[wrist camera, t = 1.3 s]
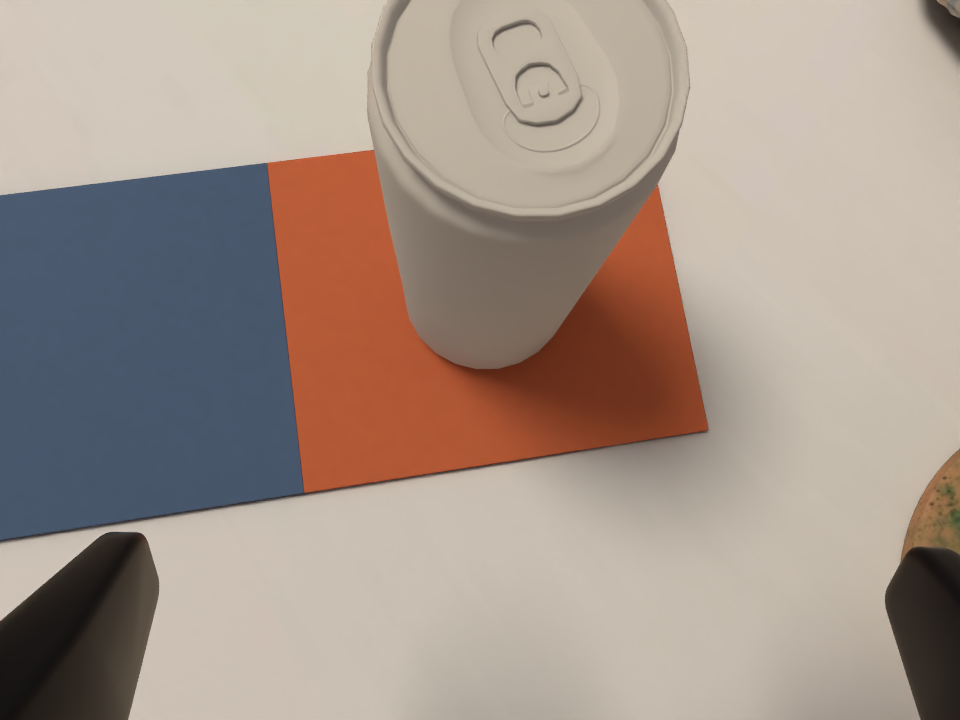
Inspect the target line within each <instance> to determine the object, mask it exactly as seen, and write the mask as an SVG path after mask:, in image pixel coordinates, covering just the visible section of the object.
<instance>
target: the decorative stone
mask: <svg viewBox="0 0 960 720" xmlns="http://www.w3.org/2000/svg"><path fill="white" fill-rule="evenodd" d="M937 1H938V3H940V4H942V5H943V6H945V7H946V8H947V9H948V10H949V12H950V13H951V14H952V15H954V16H956V17H958V18H960V0H937Z"/></svg>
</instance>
